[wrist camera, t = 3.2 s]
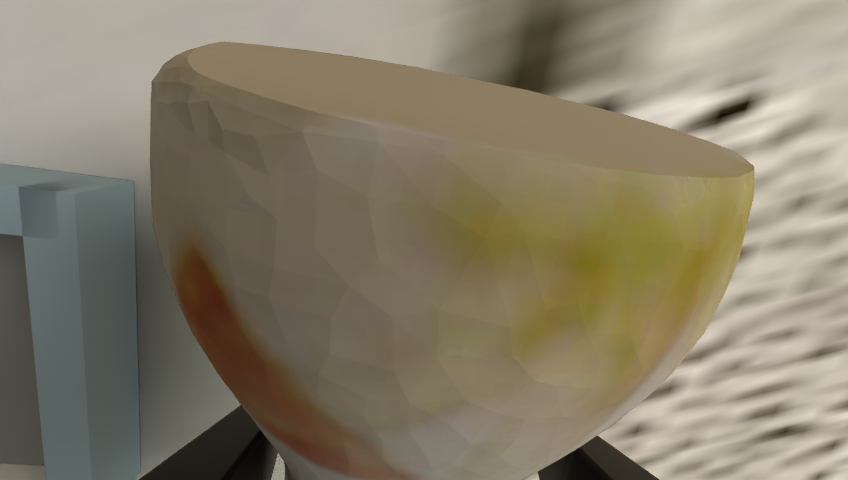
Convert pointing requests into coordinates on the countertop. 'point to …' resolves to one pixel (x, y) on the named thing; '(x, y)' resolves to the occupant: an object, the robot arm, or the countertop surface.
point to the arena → (80, 316)
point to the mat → (17, 361)
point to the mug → (430, 257)
